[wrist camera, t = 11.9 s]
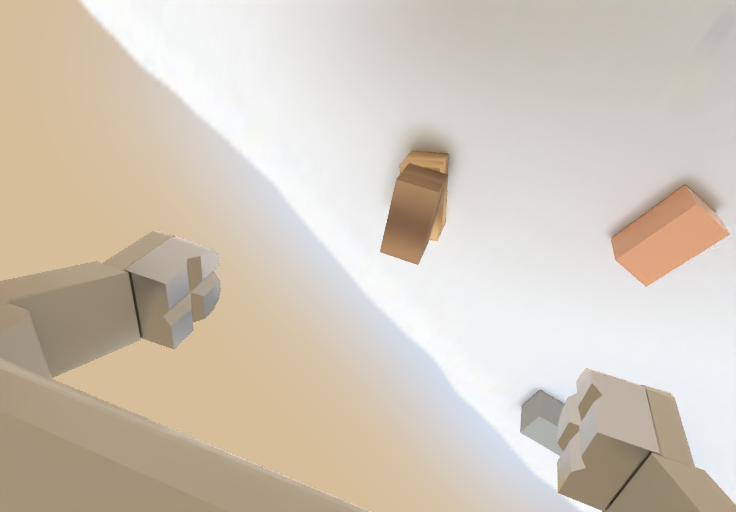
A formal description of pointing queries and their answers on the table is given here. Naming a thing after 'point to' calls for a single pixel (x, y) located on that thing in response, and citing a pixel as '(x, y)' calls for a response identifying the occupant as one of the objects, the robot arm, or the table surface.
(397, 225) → the walnut block
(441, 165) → the oak block
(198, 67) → the table surface
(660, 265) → the terracotta block
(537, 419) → the slate block
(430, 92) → the table surface
